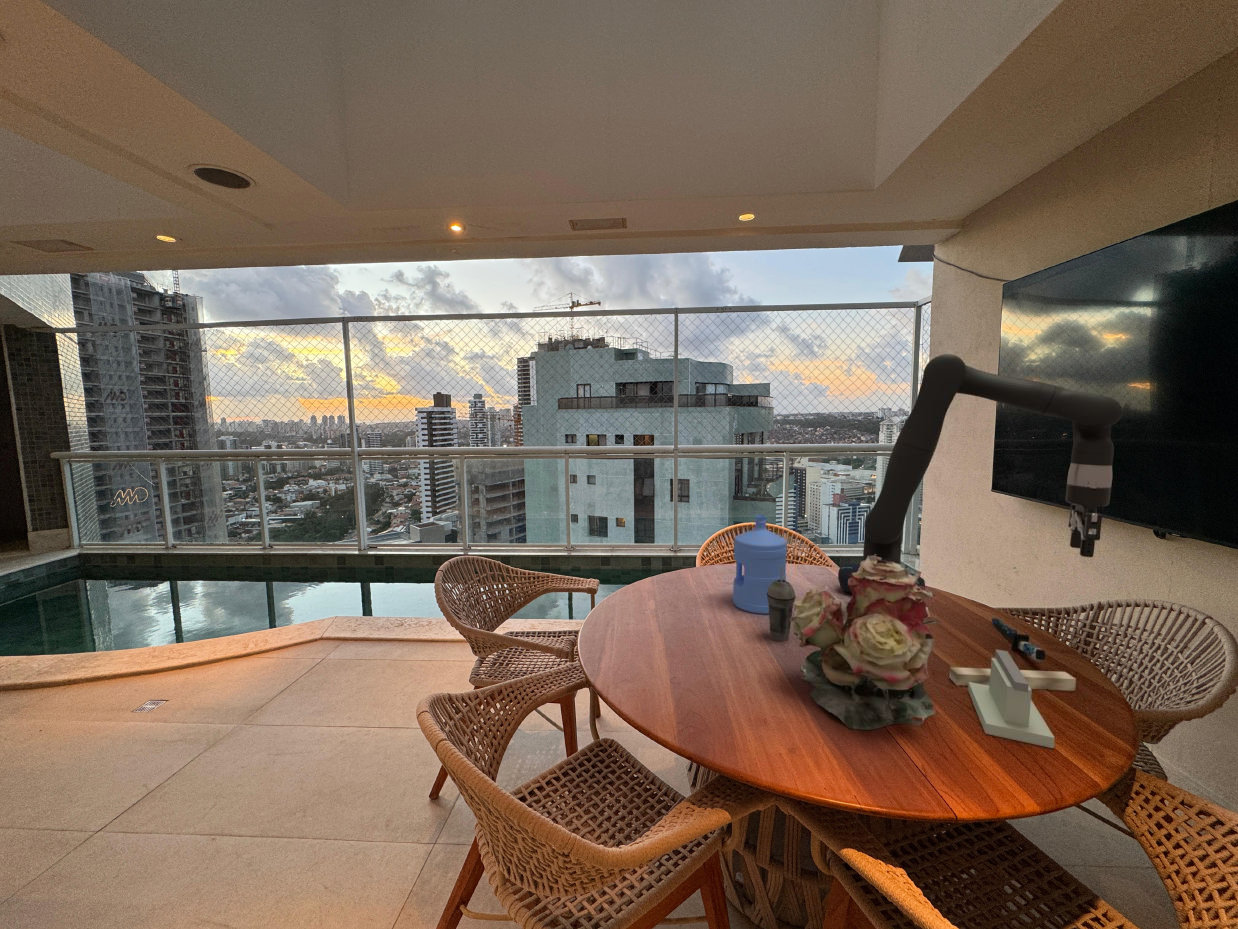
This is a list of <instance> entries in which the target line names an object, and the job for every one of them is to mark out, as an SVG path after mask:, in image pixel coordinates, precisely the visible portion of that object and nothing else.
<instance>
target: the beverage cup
mask: <svg viewBox="0 0 1238 929" xmlns="http://www.w3.org/2000/svg"><path fill="white" fill-rule="evenodd" d="M767 599H768V603H769V614H768V618H769V632H770V633H769V634H770V638H771V639H772V640H774V641H777V642H787V641H788V640H789V638H790V632H791V625H792V624H791V623H792V621H790V618H791V617H793V616H792V615H793V611H794V610H793V609H794V606H795V605H794V604H793V603H794V602H795V601H796V591H795V589H794V587H793V585H792V584H791V583H790V582H788V580H786V581H785V580H783V565H781V577H780V580H776V581H773V582H772V583H771V584H770V586H769V587H768V590H767Z"/></svg>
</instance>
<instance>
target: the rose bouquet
mask: <svg viewBox="0 0 1238 929" xmlns="http://www.w3.org/2000/svg"><path fill="white" fill-rule="evenodd" d="M875 555H877V554H875ZM859 564H860V567H859V569H858V572H856V573H851V575H850V579H848V586H849V588H850V590H851V592H852V593H851V599H850V600H849V601H845V600H842V599H840V598H839V597H837V596H836V595H834V594H833V593H832V591H830V590H829V587H828V586H827V585H824V586H821V587H820V588H813V589H809V591H808V592H806V593H805V595H804V597H803V598H802V599H799V600H795V601H794V603H793V604H794V605H793V606H794V608H793V609H794V610H793V611H794V616H792V617H791V618H790V621H791V622H793V625H792V628H791V631H792V633H793V634H794V635H795V636H796V638H797V639H798V640H800V643H799V647H800V648H805V647H806V646H807V647H808V646H812V647H816V648H819V649H820V650H815V651H812V652H810V653H809V654H808V655H807V656H806V657H805V662H804V663H803V664H802V666H801V667H800V669H799V670H800V671H801V673H802V675H803V677H801V676H800V678H801V679H802V680H804V681H807V682H808V683H809V684H811V685H812V686H813V687H815V688H814V689H813V690H812V691H811V692H810V693H809V695H810V696H811V698H812V699H813V701H814V702H815V703H816V704H817V705H818V706H821V707H822V708H824V709H825V710H827V711H828V712H829V713H832V714H833V715H834V716H836V717H837V718H839V719H840V720H841V721H842V723H843V724H844V726H846V727H847V728H848V729H855V730H864V731H865V730H866V731H868V730H869V731H870V730H871V731H872V730H876V729H880V728H883V727H886V726H890V725H893V724H895V725H896V724H897V725H898V724H902V725H903V724H905V725H914V726H919V727H921V726H922V724H923V722H924V721H925V719H927V718H929V716H932V715H935V714H936V711H934V709H933V708H934V705H933V701H932V700H931V698H930V697H929V696H928V694H927V692H926V690H925V687H924V684H923V683H924V681H925V682H926V681H928V679H929V678H930V675H929V673H928V658H929V655H930V653H931V652H932V648H933V646H934V645H935V640H934V637H933V635H932V634H930V633H931V632H930V630H929V628H928V627H927V626H926V625H930V624H937V623H939V622H940V620H936V619H935V620H934V619H933V620H926V618H930V617H931V615H930V612H929V608H928V606H927V603H926V601H925V599H926V598H930V599H931V600H934V597H936V594H934V593H932V591H931V590H929V589H928V588H926V587H925V588H924V587H923V586H920V585H917V578H919V577H921V575H922V571H916V573H914V574H915V575H914V576H912V575H911V574H910V573H911V572H910V569H906V568H905V567H904V566H903V565H901V563H900V564H897V563H894V562H890V561H889V562H888V561H885V560H881V558H879V557H876V556H868V558H867V559H866V560H865V561H863V560H862V561H860V563H859ZM792 677H793V676H792ZM842 688H844V689H842ZM908 691H909V692H908ZM857 694H862V695H864V696H861V695H857ZM898 698H899V699H898ZM912 718H918V719H922V721H918V720H917V721H915V720H911V719H912Z"/></svg>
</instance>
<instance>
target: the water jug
mask: <svg viewBox="0 0 1238 929" xmlns="http://www.w3.org/2000/svg"><path fill="white" fill-rule="evenodd" d="M754 517H755V521H754V524H755V525H754V526H755V527H754V528H753V529H751V530H748V531H745V532H741V533H740V534H737V535H736V536H735V537H734V542H733V559H734V561H735V562H736V564H735V565H736V566H735V569H736V570H735V578H734V579H733V587H732V588H733V592H732V602H733V604H734V605H735V606H736V608H739V609H741V610H742V611H745V612H748V613H753V614H761V615H766V614H767V615H769V603H768V599H767V590H768V587H769V586H770V584H771V583H772V582H773V581H776V580H780V577H781V565H783V580H785V581H787V572H786V571H787V570H786V569H787V567H786V565H787V552H788V547H787V544H788V543H787V541H786V539H785V538H784V537H783V536H780V535H778V534H776V533H774V532H773V531H770V530H768V529H767V520H766V518H767V515H764V514H756V515H755V516H754Z"/></svg>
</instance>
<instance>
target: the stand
mask: <svg viewBox="0 0 1238 929" xmlns="http://www.w3.org/2000/svg"><path fill="white" fill-rule="evenodd" d="M990 669H991V670H990V683H989V686H988V685H983V684H977V683H972V682H968V686H967V692H968V694H970V695H969V696H970V699H972V700H971V702H972V701H973V702H972V704H973V706H974V709H975V711H976V714H977V717H978V718H979V719H978V720H979V721H980V723H981V727H982V729H983V730H984V734H985V735H986V734H987V735H990V736H995V737H1000V738H1004V739H1009V740H1013V741H1014V740H1015V741H1018V742H1022V743H1026V744H1032V745H1036V746H1041V747H1046V748H1050V749H1054V748H1055V738H1056V737H1055V736H1054V734H1053V733H1052V731H1051V729H1050V727H1048V724H1047V723H1046V721H1045V720H1044V718H1043V716H1042V715H1041V713H1040V711H1039V710H1038V709H1037V707H1036V705H1035V704H1034V702H1033V700H1032V693H1033V691H1032V690H1033V689H1030V687H1029V684H1028V683H1027V681H1026V679H1025V678H1024V676H1023V675H1022V673H1021V672H1020V670H1021V669H1019V667H1018V666H1017V664H1016V663H1015V661H1014V659H1013V658H1012V656H1011V654H1010V653H1009V651H1008V650H1004V649H1003V650H1001V649H995V652H994V657H991V659H990Z"/></svg>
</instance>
